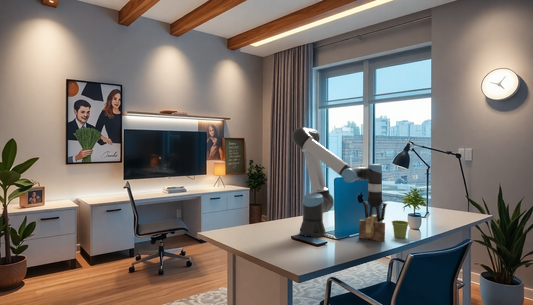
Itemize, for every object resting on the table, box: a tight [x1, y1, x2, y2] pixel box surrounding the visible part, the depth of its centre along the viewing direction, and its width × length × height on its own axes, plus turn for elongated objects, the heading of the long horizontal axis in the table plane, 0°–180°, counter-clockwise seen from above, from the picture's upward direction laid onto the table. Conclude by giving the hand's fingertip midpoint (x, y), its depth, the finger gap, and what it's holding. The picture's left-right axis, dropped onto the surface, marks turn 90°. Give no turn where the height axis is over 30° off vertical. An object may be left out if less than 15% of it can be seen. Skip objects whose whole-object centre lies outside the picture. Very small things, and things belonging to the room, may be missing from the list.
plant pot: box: [391, 220, 410, 239], centre depth 205 cm, size 9×9×9 cm
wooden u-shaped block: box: [358, 219, 386, 242], centre depth 200 cm, size 14×2×10 cm, turn 56°
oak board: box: [365, 214, 377, 237], centre depth 200 cm, size 14×3×10 cm, turn 146°
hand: (374, 231), depth 204 cm, fingers closed on oak board, 3 cm apart
